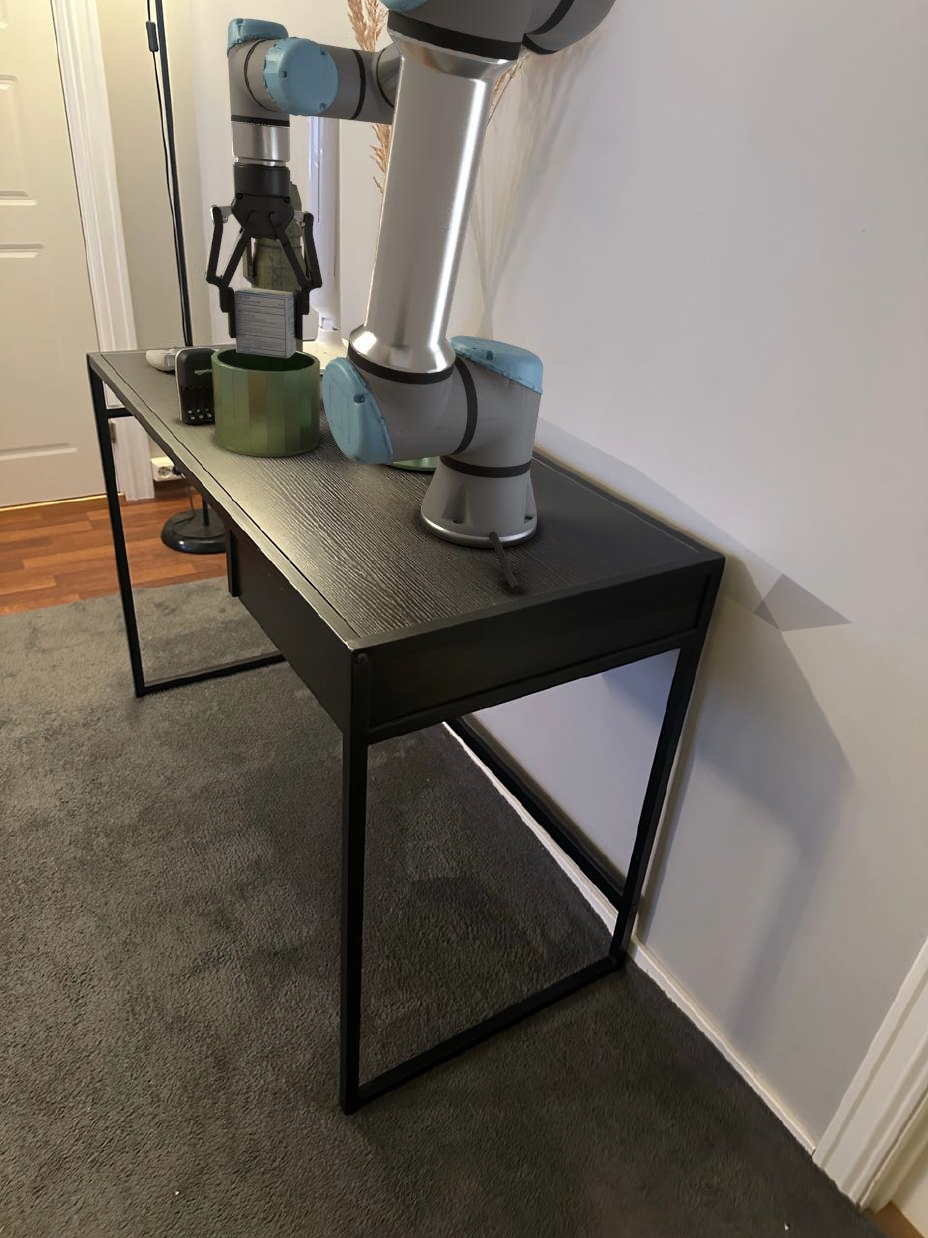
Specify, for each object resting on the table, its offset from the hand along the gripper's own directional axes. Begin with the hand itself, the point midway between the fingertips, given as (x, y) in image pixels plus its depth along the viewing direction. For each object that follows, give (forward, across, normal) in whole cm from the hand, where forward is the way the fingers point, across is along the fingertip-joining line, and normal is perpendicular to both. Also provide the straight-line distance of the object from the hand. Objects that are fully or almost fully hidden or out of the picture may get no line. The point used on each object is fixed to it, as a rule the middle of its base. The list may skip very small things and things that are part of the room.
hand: (265, 336), depth 122 cm
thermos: (+16, -5, -20) cm, 26 cm away
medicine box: (+3, 0, 0) cm, 3 cm away
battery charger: (+16, +9, -10) cm, 20 cm away
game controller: (+16, +9, -42) cm, 46 cm away
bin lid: (+15, -22, +9) cm, 28 cm away
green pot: (+16, 0, 0) cm, 16 cm away
